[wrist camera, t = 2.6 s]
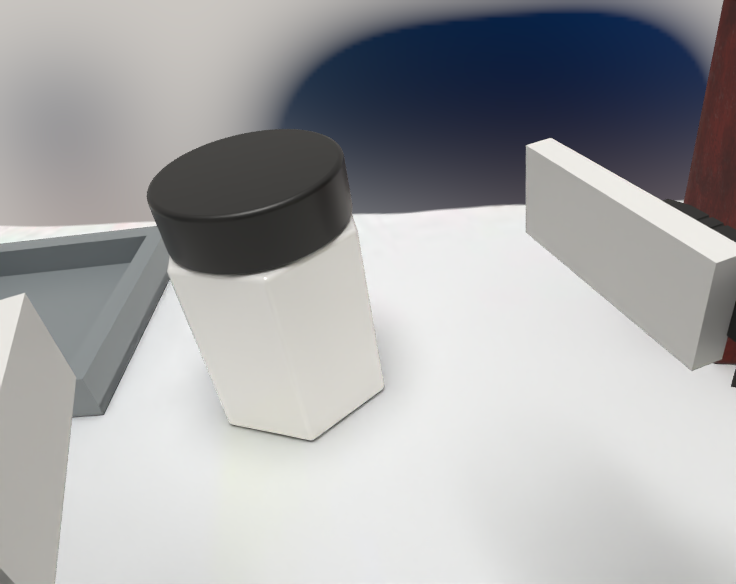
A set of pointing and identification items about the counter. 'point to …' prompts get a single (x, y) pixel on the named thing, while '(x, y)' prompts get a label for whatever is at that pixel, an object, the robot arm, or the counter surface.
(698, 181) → the red square bottle
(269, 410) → the jar
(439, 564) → the counter surface
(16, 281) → the tray
